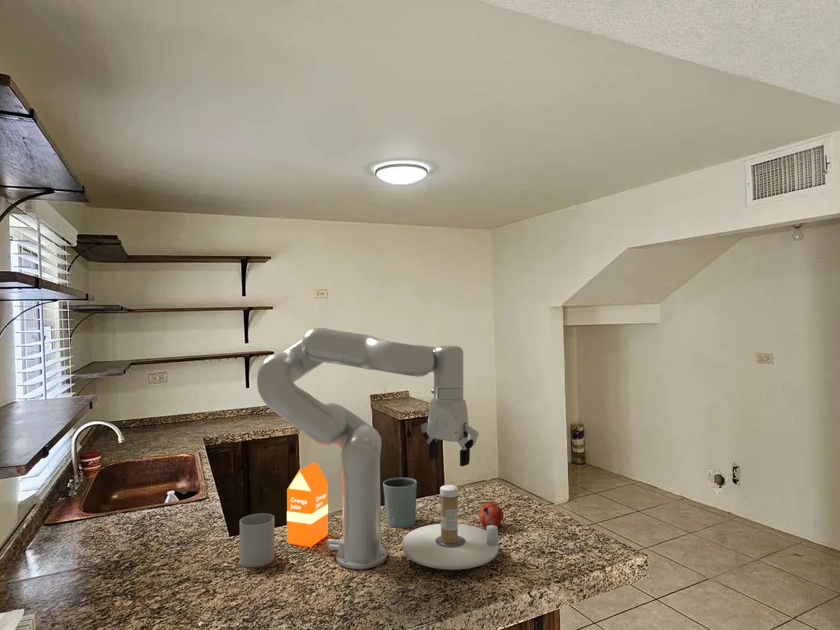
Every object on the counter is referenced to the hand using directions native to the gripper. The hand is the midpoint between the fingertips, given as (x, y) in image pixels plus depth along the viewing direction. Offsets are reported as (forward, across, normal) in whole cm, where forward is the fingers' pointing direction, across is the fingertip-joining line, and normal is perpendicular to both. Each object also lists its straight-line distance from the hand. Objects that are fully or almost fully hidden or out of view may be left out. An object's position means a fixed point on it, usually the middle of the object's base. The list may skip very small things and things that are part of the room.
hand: (448, 462), depth 130 cm
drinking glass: (+24, -25, +10) cm, 36 cm away
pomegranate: (+24, -2, +24) cm, 34 cm away
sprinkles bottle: (+20, 0, 0) cm, 20 cm away
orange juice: (+24, -37, -14) cm, 47 cm away
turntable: (+24, 0, 0) cm, 24 cm away
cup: (+24, -37, -31) cm, 54 cm away
